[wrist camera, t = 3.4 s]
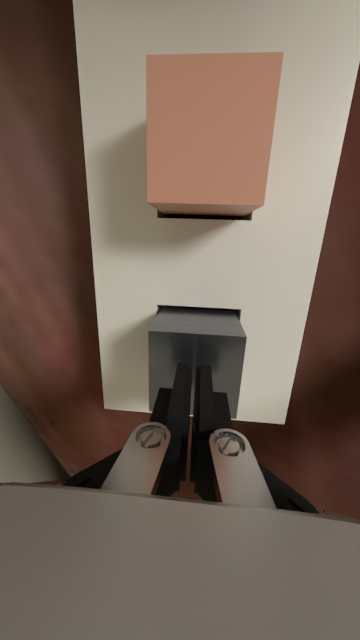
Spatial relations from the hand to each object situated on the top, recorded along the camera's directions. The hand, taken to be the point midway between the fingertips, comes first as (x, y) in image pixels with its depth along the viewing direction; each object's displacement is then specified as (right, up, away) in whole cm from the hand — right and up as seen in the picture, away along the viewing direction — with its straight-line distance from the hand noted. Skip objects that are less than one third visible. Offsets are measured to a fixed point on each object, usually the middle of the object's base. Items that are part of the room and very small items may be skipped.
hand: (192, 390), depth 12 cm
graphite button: (+1, +2, +6) cm, 6 cm away
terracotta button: (+1, +12, +2) cm, 13 cm away
